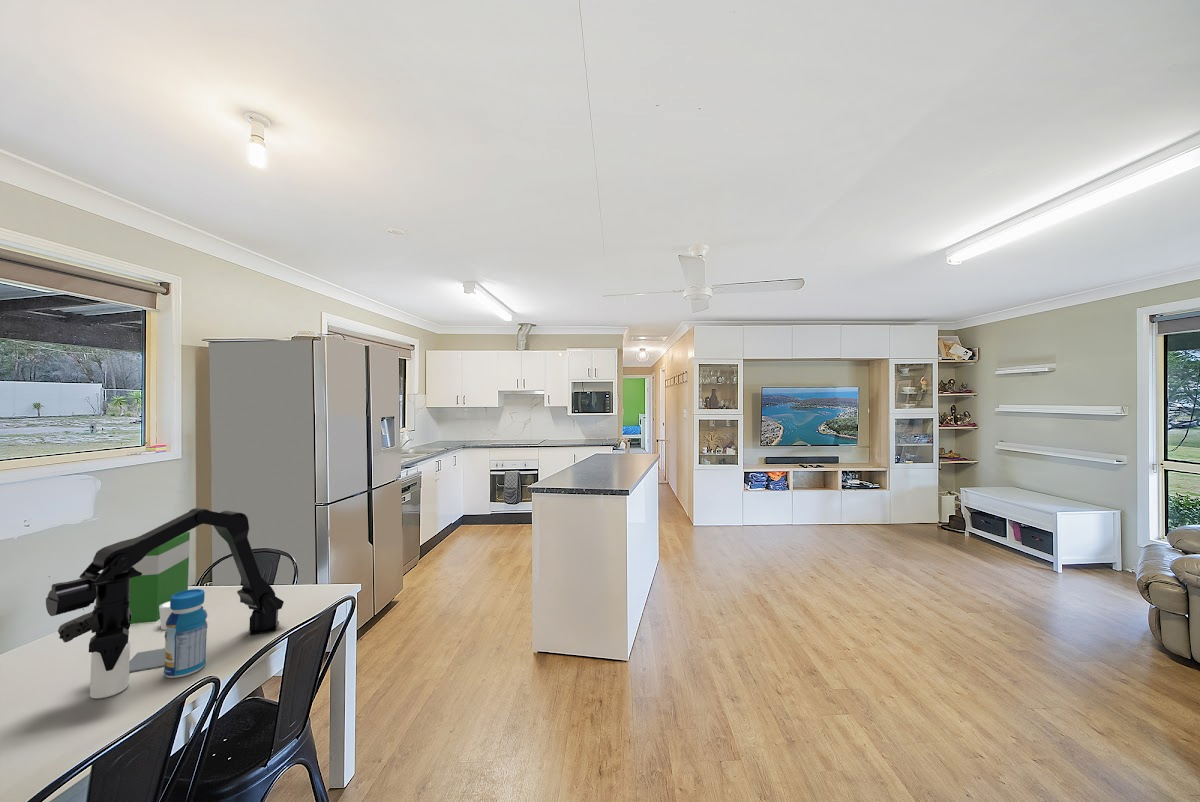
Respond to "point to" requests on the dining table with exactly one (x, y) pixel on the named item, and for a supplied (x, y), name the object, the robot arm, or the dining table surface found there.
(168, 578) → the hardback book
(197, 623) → the beverage bottle
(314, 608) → the dining table surface
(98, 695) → the can
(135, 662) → the slate mat
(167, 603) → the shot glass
